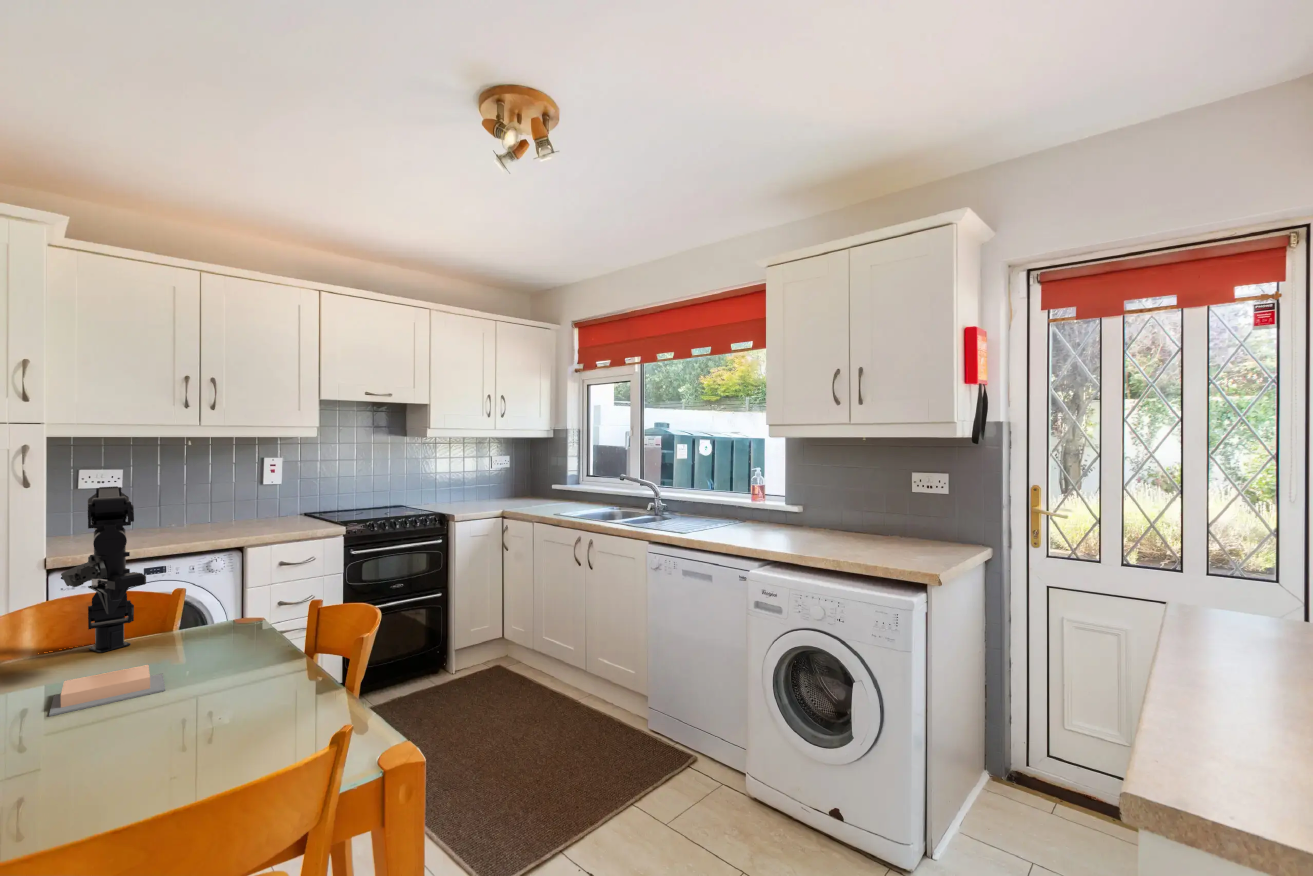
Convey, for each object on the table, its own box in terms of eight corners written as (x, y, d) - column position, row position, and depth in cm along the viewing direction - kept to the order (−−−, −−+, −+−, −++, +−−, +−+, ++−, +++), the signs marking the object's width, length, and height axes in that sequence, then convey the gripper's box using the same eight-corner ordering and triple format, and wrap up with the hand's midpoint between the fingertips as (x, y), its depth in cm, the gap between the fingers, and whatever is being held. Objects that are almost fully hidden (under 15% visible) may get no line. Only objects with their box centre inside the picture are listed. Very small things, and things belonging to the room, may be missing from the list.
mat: (54, 697, 129) (54, 695, 129) (162, 675, 141) (162, 673, 141) (49, 716, 120) (49, 714, 120) (165, 690, 132) (165, 689, 132)
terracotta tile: (64, 681, 131) (60, 695, 123) (148, 664, 140) (150, 677, 133) (64, 692, 131) (60, 707, 123) (148, 675, 140) (150, 688, 133)
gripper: (45, 552, 143) (46, 618, 143) (89, 558, 135) (89, 628, 135) (104, 544, 153) (104, 606, 153) (147, 549, 146) (147, 614, 146)
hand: (110, 613), depth 146 cm, fingers closed
